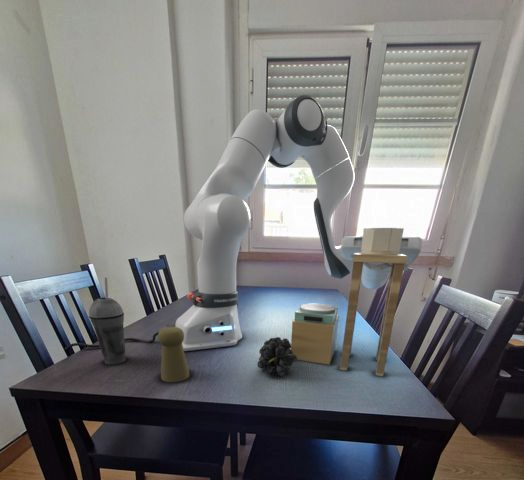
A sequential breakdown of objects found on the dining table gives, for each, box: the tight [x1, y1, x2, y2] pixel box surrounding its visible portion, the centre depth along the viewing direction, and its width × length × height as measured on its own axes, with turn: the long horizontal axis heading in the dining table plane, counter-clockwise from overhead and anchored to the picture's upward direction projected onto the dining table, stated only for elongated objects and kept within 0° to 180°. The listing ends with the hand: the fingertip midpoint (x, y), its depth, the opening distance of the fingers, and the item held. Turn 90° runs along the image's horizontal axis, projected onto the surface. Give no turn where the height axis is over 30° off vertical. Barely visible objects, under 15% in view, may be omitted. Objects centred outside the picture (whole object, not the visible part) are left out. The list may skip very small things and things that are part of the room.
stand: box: [339, 253, 407, 377], centre depth 65 cm, size 12×10×26 cm
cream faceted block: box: [361, 227, 404, 255], centre depth 66 cm, size 19×8×5 cm, turn 159°
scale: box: [290, 302, 340, 366], centre depth 73 cm, size 10×10×13 cm
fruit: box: [257, 336, 298, 376], centre depth 66 cm, size 9×8×15 cm
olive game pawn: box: [157, 326, 190, 383], centre depth 60 cm, size 6×6×11 cm
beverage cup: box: [88, 277, 126, 365], centre depth 66 cm, size 7×7×20 cm
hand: (381, 232), depth 70 cm, fingers open, 4 cm apart
